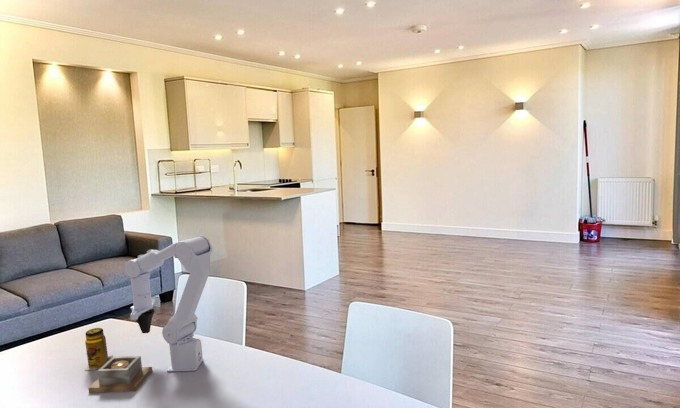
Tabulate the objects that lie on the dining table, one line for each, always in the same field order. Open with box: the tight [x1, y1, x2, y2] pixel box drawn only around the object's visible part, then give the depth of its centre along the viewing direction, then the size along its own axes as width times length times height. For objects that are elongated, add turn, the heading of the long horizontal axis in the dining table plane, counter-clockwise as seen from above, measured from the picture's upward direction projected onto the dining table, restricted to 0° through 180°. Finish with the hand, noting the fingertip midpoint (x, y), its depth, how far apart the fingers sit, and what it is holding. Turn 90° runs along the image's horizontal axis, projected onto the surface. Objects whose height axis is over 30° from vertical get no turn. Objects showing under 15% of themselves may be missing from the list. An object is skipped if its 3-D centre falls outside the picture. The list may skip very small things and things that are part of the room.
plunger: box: [111, 360, 129, 369], centre depth 146 cm, size 6×6×4 cm
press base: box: [87, 355, 153, 394], centre depth 146 cm, size 14×12×6 cm
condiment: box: [84, 327, 114, 371], centre depth 159 cm, size 7×8×12 cm
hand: (146, 332), depth 160 cm, fingers closed
